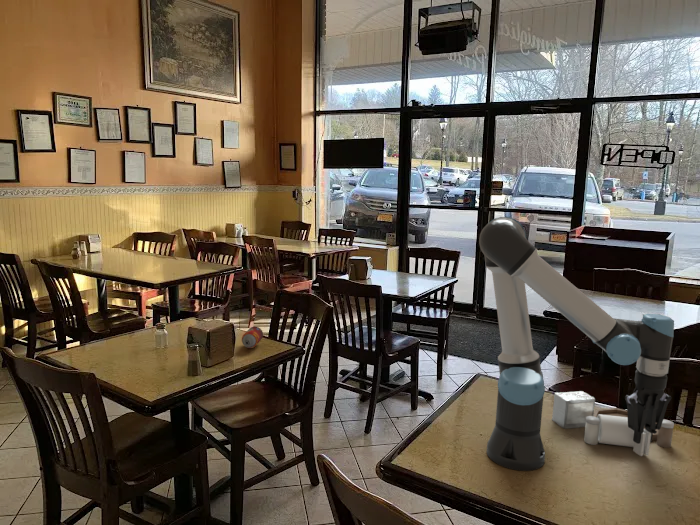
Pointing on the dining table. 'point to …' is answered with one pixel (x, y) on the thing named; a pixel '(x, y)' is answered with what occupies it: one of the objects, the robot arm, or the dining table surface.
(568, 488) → the dining table surface
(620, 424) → the white cylinder
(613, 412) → the tray
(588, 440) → the salt shaker
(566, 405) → the white box
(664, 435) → the pepper shaker
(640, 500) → the dining table surface
